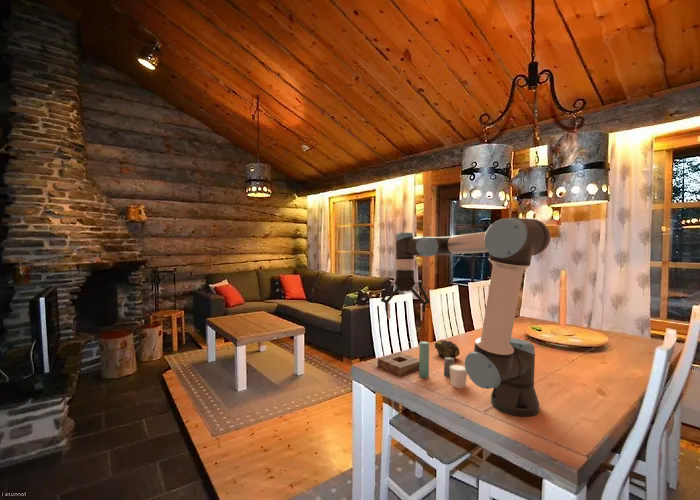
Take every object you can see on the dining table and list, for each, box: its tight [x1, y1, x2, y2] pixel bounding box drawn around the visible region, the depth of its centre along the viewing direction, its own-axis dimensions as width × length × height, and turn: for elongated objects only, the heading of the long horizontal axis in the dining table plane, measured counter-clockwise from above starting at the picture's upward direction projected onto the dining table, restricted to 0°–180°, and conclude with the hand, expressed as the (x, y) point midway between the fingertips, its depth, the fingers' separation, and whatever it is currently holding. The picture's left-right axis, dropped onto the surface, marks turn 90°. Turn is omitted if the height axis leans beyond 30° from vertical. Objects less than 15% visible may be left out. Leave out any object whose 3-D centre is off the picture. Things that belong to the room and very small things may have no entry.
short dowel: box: [443, 357, 455, 378], centre depth 146 cm, size 4×4×7 cm
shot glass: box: [449, 364, 468, 389], centre depth 137 cm, size 7×7×7 cm
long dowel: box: [418, 341, 430, 379], centre depth 145 cm, size 4×4×14 cm
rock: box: [434, 339, 461, 359], centre depth 168 cm, size 12×9×8 cm
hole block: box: [377, 352, 419, 377], centre depth 155 cm, size 14×14×4 cm
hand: (405, 319), depth 147 cm, fingers open, 13 cm apart
